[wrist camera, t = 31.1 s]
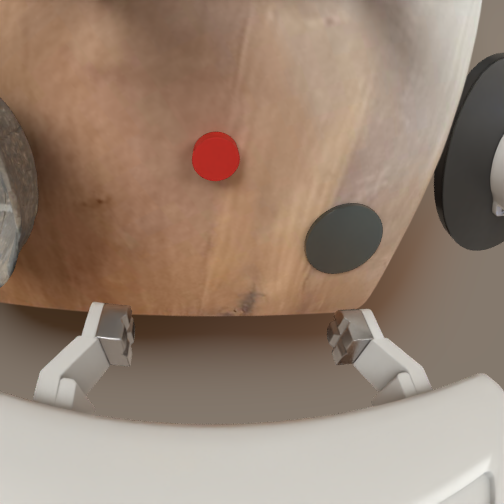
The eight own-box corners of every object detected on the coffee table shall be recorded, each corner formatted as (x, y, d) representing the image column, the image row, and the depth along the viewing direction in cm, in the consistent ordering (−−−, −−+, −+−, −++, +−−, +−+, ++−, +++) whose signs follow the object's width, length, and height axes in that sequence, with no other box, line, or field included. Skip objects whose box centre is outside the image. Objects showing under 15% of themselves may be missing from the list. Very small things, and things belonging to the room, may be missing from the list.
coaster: (392, 208, 32) (394, 210, 32) (363, 271, 38) (365, 274, 38) (317, 198, 30) (319, 201, 30) (295, 269, 36) (296, 273, 36)
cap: (223, 123, 24) (224, 129, 23) (245, 159, 27) (247, 166, 25) (184, 146, 25) (182, 153, 24) (208, 180, 28) (208, 188, 26)
